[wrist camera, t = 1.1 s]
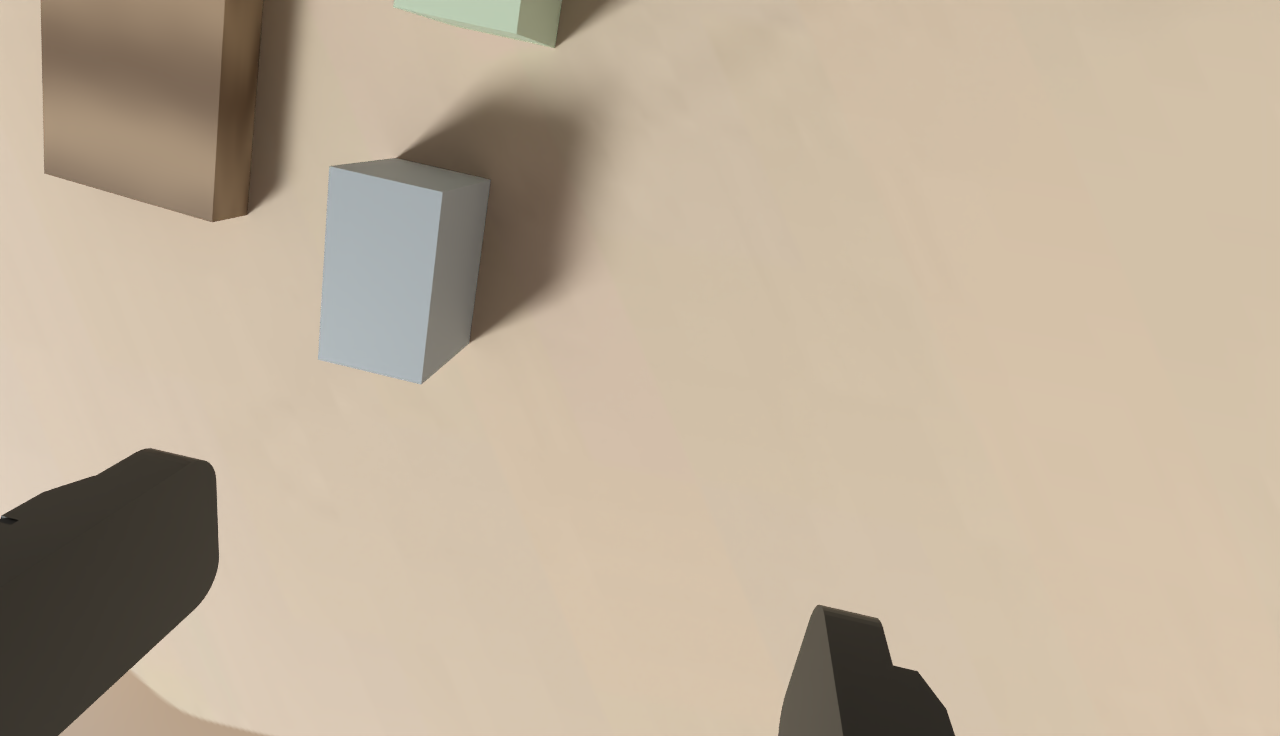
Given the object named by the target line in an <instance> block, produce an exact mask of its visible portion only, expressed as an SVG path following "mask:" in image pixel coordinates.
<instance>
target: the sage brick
mask: <svg viewBox="0 0 1280 736" xmlns="http://www.w3.org/2000/svg"><path fill="white" fill-rule="evenodd" d="M561 5H562V0H394V7H395V8H398V9H401V10H404V11H407V12H411V13H414V14H417V15H420V16H423V17H426V18H430V19H433V20H436V21H439V22H442V23H446V24H449V25H452V26H456V27H460V28H465V29H470V30H474V31H479V32H483V33H488V34H493V35H497V36H502V37H506V38H511V39H515V40H520V41H525V42H529V43H534V44H538V45H543V46H548V47H552V48H555V44H556V38H557V31H558V25H559V18H560V11H561Z"/></svg>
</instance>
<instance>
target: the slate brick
mask: <svg viewBox="0 0 1280 736" xmlns="http://www.w3.org/2000/svg"><path fill="white" fill-rule="evenodd" d="M490 182H491V180H490V179H486V178H482V177H477V176H473V175H468V174H464V173H460V172H455V171H451V170H446V169H442V168H438V167H433V166H429V165H424V164H420V163H416V162H411V161H407V160H403V159H398V158H392V159H384V160H376V161H368V162H360V163H352V164H344V165H336V166H330V167H329V184H328V201H327V218H326V235H325V252H324V269H323V286H322V303H321V320H320V337H319V354H318V360H322V361H326V362H330V363H335V364H339V365H343V366H347V367H351V368H355V369H359V370H364V371H368V372H372V373H376V374H380V375H384V376H388V377H393V378H397V379H401V380H405V381H409V382H413V383H417V384H422V383H423V382H425V381H426V380H427V379H428V378H429V377H430V376H432V375H433V374H434V373H435V372H436V371H437V370H439V369H440V368H441V367H442V366H443V365H444V364H446V363H447V362H448V361H449V360H450V359H451V358H453V357H454V356H455V355H456V354H457V353H458V352H460V351H461V350H462V349H463V348H464V347H465V346H467V345H468V344H469V340H470V333H471V325H472V318H473V310H474V303H475V295H476V288H477V280H478V273H479V265H480V258H481V250H482V242H483V235H484V227H485V220H486V212H487V205H488V197H489V190H490Z"/></svg>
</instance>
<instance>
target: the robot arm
mask: <svg viewBox="0 0 1280 736" xmlns="http://www.w3.org/2000/svg"><path fill="white" fill-rule="evenodd" d="M218 563H219V547H218V518H217V490H216V475H215V471H214V469H213V467H212V465H211V464H210V463H208V462H207V461H204V460H199V459H195V458H191V457H186V456H182V455H178V454H173V453H169V452H165V451H160V450H156V449H152V448H150V449H143V450H140V451H138V452H136V453H134V454H132V455H131V456H129V457H127V458H126V459H124V460H122V461H120V462H119V463H117V464H115V465H113V466H112V467H110V468H108V469H107V470H105V471H103V472H101V473H100V474H98V475H96V476H92V477H89V478H86V479H82V480H79V481H76V482H73V483H70V484H67V485H64V486H61V487H58V488H55V489H52V490H49V491H46V492H43V493H41V494H39V495H37V496H36V497H34V498H32V499H30V500H29V501H27V502H25V503H23V504H21V505H20V506H18V507H16V508H14V509H12V510H11V511H9V512H7V513H5V514H4V515H2V516H1V519H0V736H58V735H59V734H60V733H61V732H62V731H64V730H65V729H66V728H67V727H68V726H69V725H70V724H71V723H72V722H73V721H74V720H76V719H77V718H78V717H79V716H80V715H81V714H82V713H83V712H84V711H85V710H86V709H87V708H88V707H89V706H91V705H92V704H93V703H94V702H95V701H96V700H97V699H98V698H99V697H100V696H101V695H102V694H104V692H106V691H107V690H108V689H109V688H110V687H111V686H112V685H113V684H114V683H115V682H117V681H118V680H119V679H120V678H121V677H122V676H123V675H124V674H125V673H126V672H127V671H128V670H129V669H131V668H132V667H133V666H134V665H135V664H136V663H137V662H138V661H139V660H140V659H141V658H142V657H143V656H145V655H146V654H147V653H148V652H149V651H150V650H151V649H152V648H153V647H154V646H155V645H156V644H158V643H159V642H160V641H161V640H162V639H163V638H164V637H165V636H166V635H167V634H168V633H169V632H170V631H172V630H173V629H174V628H175V627H176V626H177V625H178V624H179V623H180V622H181V621H182V620H183V619H184V618H186V617H187V616H188V615H189V614H190V613H191V612H192V611H193V610H194V609H195V608H196V607H197V606H198V605H199V604H200V603H201V602H202V600H203V599H204V598H205V596H206V595H207V593H208V591H209V589H210V588H211V586H212V583H213V581H214V578H215V576H216V572H217V568H218ZM778 736H955V734H954V731H953V728H952V725H951V722H950V719H949V716H948V713H947V710H946V708H945V707H944V706H943V704H942V703H941V702H940V700H939V699H938V698H937V696H936V695H935V694H934V692H933V691H932V690H931V688H930V687H929V686H928V684H927V683H926V682H925V680H924V679H923V678H922V677H921V675H920V674H919V673H918V671H914V670H910V669H905V668H901V667H897V666H893V664H892V661H891V657H890V653H889V649H888V645H887V642H886V638H885V634H884V630H883V627H882V624H881V622H880V620H879V619H878V618H874V617H870V616H865V615H861V614H857V613H852V612H848V611H844V610H839V609H835V608H831V607H826V606H822V605H817V606H816V607H815V609H814V610H813V613H812V615H811V617H810V620H809V623H808V626H807V630H806V633H805V636H804V639H803V642H802V645H801V648H800V651H799V654H798V657H797V660H796V664H795V667H794V670H793V673H792V676H791V679H790V682H789V685H788V688H787V691H786V695H785V698H784V702H783V706H782V711H781V717H780V724H779V734H778Z"/></svg>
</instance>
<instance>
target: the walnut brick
mask: <svg viewBox="0 0 1280 736" xmlns="http://www.w3.org/2000/svg"><path fill="white" fill-rule="evenodd" d="M262 13H263V0H41V36H42V83H43V129H44V173H45V174H49V175H52V176H55V177H59V178H62V179H66V180H69V181H73V182H76V183H79V184H83V185H86V186H90V187H93V188H97V189H100V190H103V191H107V192H110V193H114V194H117V195H121V196H124V197H127V198H131V199H134V200H138V201H141V202H145V203H148V204H151V205H155V206H158V207H162V208H165V209H169V210H172V211H175V212H179V213H182V214H186V215H189V216H193V217H196V218H199V219H203V220H206V221H210V222H215V221H220V220H225V219H230V218H235V217H239V216H244V215H247V211H248V198H249V185H250V172H251V158H252V145H253V132H254V119H255V106H256V92H257V79H258V66H259V53H260V40H261V26H262Z"/></svg>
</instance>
